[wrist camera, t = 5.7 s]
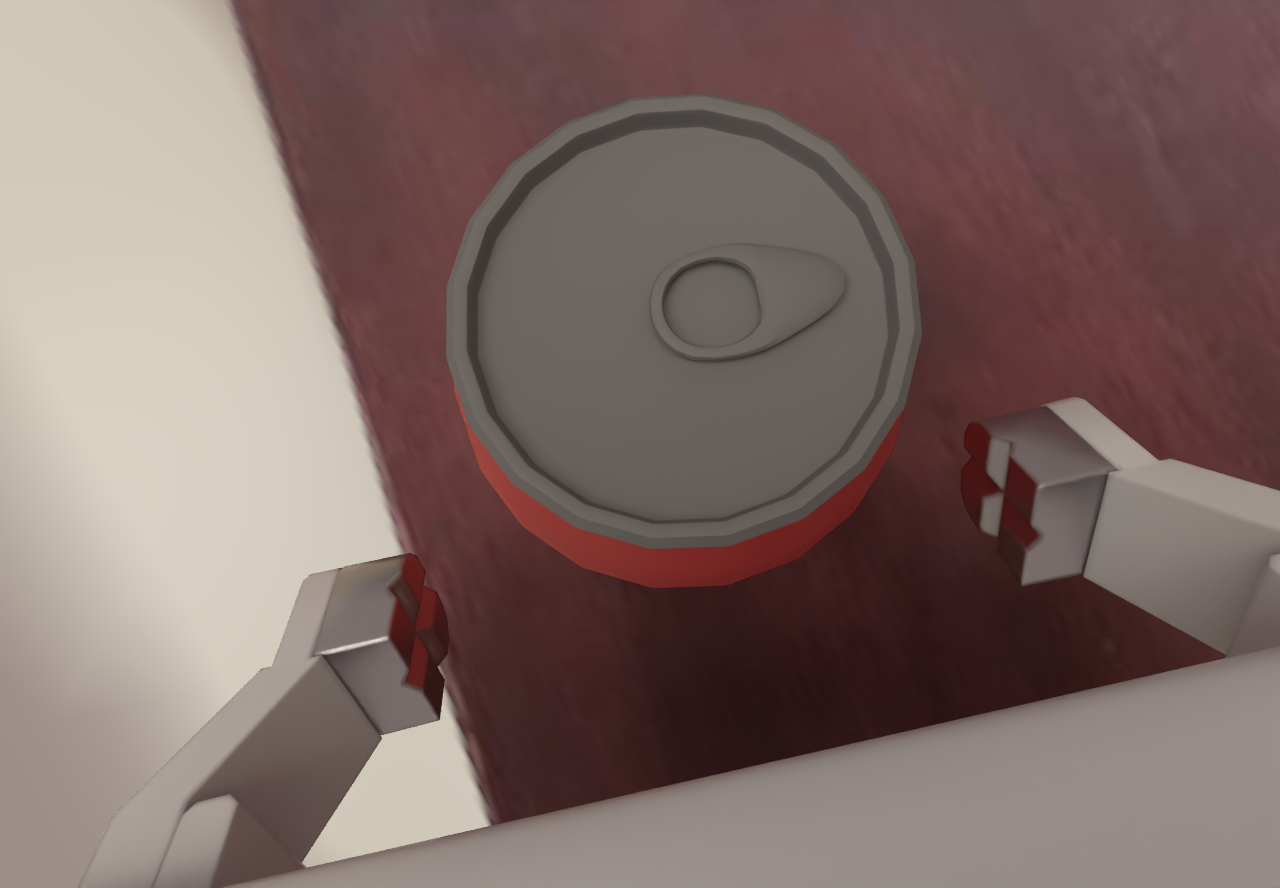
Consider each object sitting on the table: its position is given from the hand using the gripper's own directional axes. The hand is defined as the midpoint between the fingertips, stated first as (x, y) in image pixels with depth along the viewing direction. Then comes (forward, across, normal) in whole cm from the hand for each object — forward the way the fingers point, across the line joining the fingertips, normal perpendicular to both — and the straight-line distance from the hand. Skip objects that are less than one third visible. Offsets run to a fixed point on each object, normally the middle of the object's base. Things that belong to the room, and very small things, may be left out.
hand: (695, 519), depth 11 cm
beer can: (+8, 0, +5) cm, 10 cm away
